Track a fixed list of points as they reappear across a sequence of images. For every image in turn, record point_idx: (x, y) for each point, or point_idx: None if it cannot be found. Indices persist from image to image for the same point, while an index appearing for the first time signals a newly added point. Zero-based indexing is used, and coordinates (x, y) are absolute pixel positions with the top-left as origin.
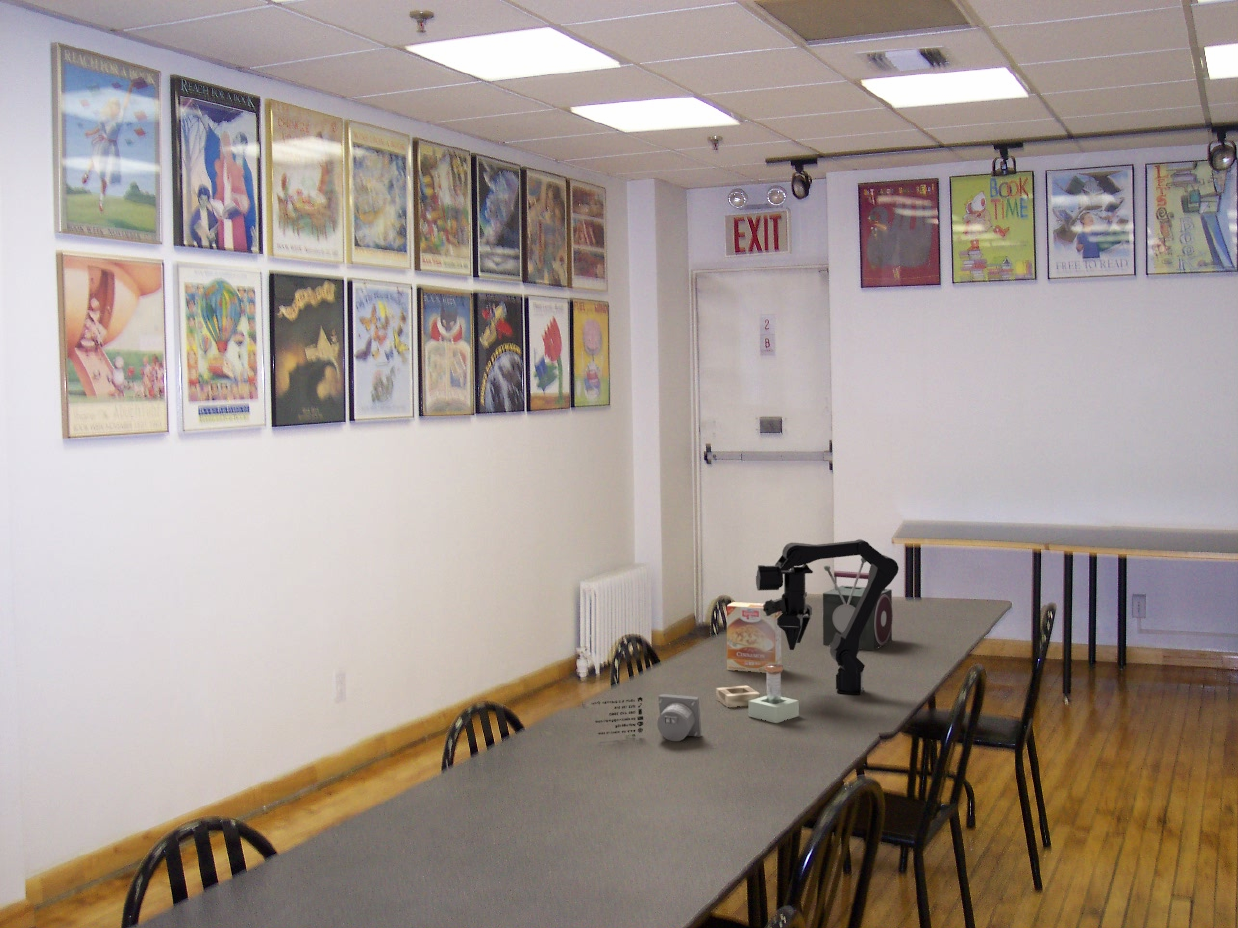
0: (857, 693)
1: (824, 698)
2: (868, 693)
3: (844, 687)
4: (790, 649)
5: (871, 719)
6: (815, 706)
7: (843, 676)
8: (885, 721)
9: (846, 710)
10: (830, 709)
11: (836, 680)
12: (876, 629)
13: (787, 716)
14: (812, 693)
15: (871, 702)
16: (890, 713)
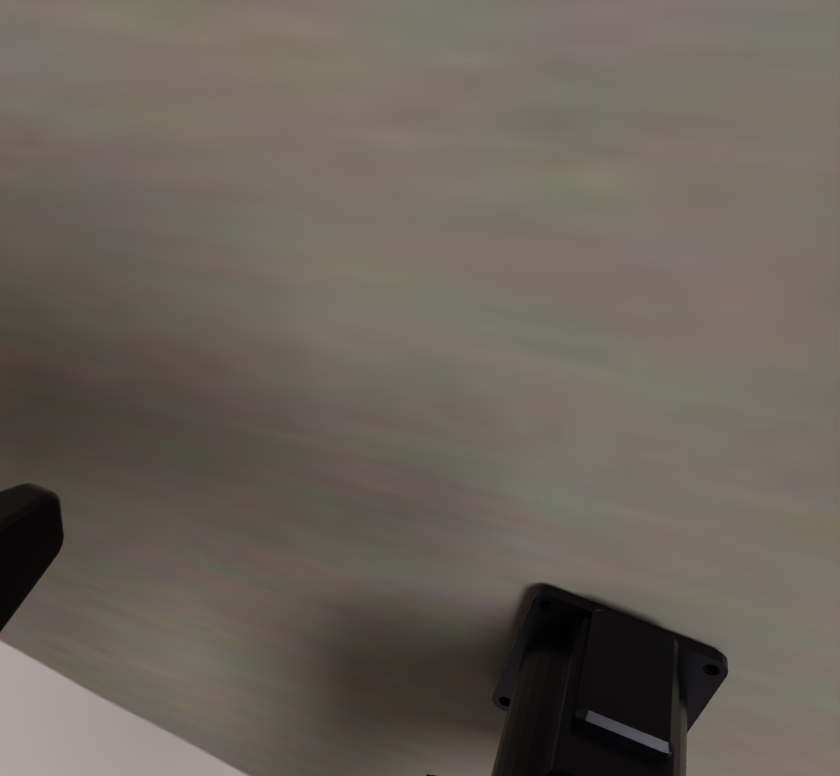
0: (496, 686)
1: (388, 465)
2: None
3: (534, 660)
4: (28, 492)
5: None
6: (160, 360)
7: (521, 735)
8: None
9: (127, 515)
10: (119, 437)
11: (584, 667)
12: None
13: None
14: (546, 413)
15: (326, 681)
16: (139, 679)
